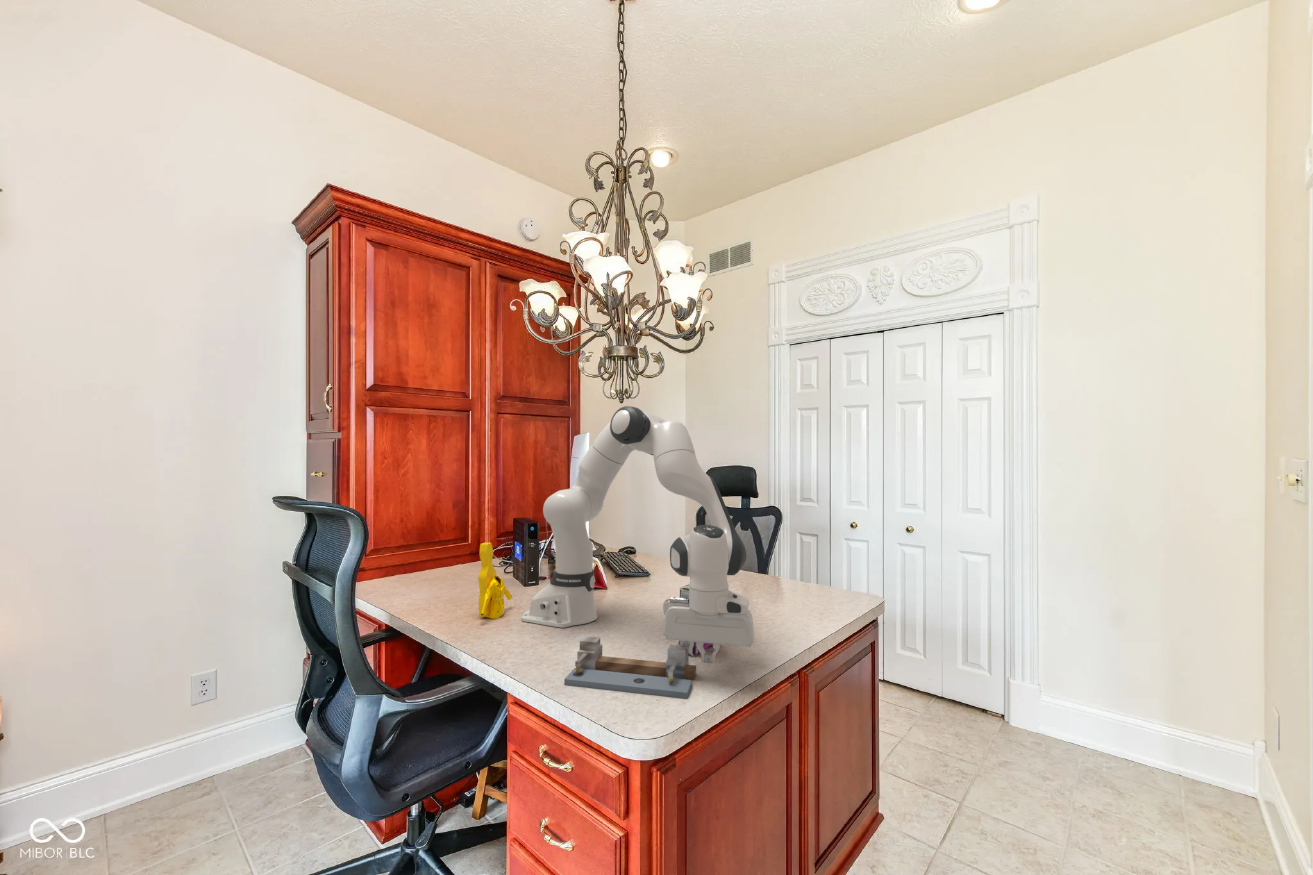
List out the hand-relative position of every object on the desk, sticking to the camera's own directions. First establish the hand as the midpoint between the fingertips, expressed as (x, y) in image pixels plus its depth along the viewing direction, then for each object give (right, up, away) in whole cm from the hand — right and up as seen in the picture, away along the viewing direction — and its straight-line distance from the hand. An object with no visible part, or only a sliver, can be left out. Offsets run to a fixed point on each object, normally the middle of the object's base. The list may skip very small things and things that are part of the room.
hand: (708, 661), depth 119 cm
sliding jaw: (-7, -3, -1) cm, 8 cm away
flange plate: (-18, -4, -4) cm, 19 cm away
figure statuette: (-62, -4, +43) cm, 75 cm away
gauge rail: (-17, -4, +1) cm, 17 cm away
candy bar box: (-1, -4, +18) cm, 18 cm away
